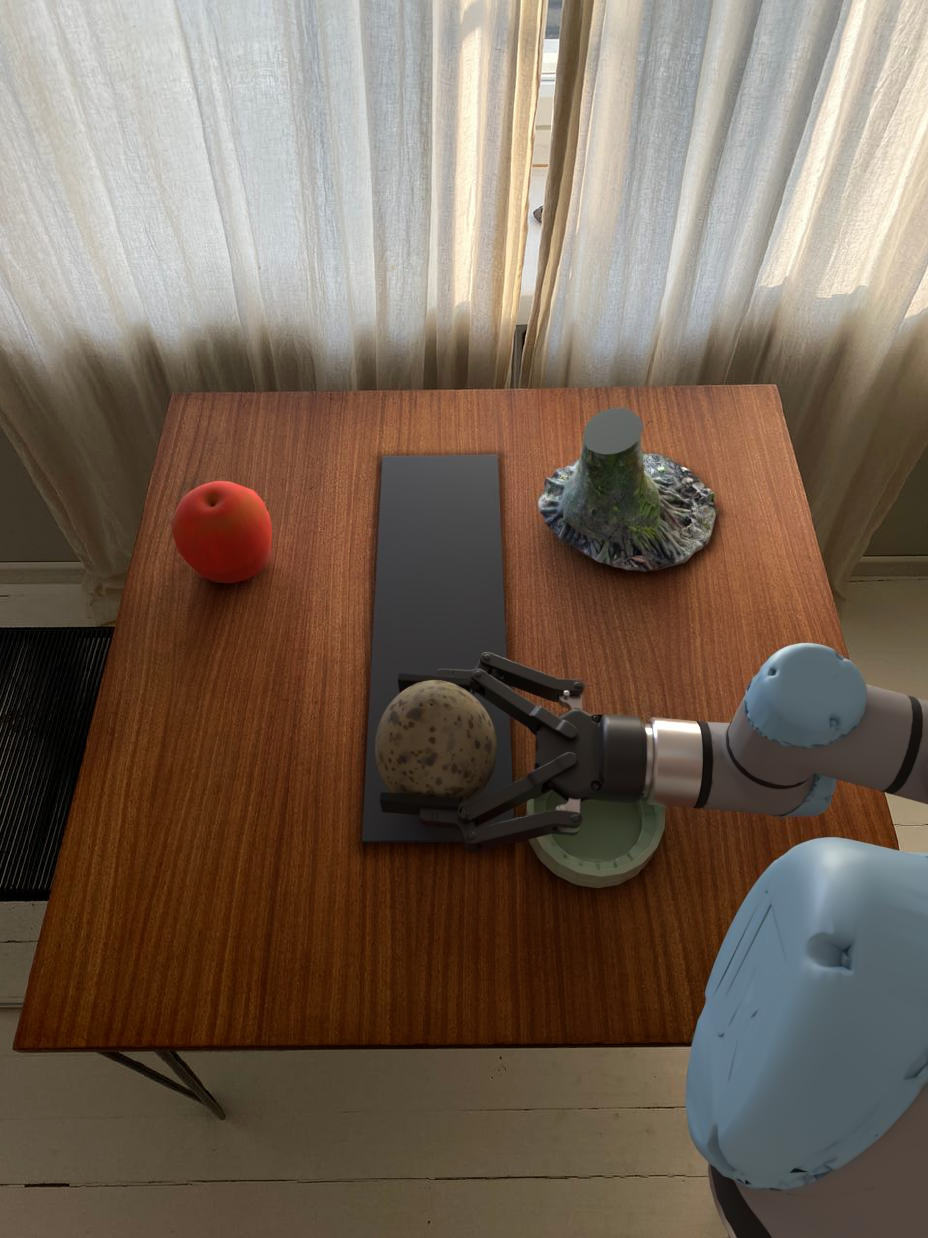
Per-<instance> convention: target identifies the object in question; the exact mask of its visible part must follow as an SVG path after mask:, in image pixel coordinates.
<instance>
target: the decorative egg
mask: <svg viewBox="0 0 928 1238" xmlns="http://www.w3.org/2000/svg"><path fill="white" fill-rule="evenodd" d="M375 755H376V761H377V766H378V769H379V772H380V775H381V777H382V779H383V781H384V783H385V784H386V786H387V787H388V789H389V790H390V791H391V792H392V793H400V794H413V795H425V796H438V797H450V798H458V799H459V807H460V806H461V805H462V807H464V806H466V805H467V804H469V803H470V802H472V801H473V800H474V799H476V798H477V797H478V796H479V795H480V794H481V793H482V791H483V790H484V789H485V788H486V786H487V784H488V783H489V781H490V779H491V777H492V774H493V772H494V769H495V765H496V760H497V739H496V734H495V730H494V726H493V724H492V721H491V719H490V717H489V715H488V713H487V712H486V710H485V708H484V707H483V706H482V704H481V703H480V702H479V701H478V700H477V699H476V698H475V697H474V696H473V695H472V694H470V693H469V692H468V691H466V690H465V689H463V688H461V687H459V686H457V685H455V684H453V683H450V682H446V681H439V680H430V681H423V682H420V683H417V684H414V685H412V686H410V687H408V688H407V689H405V690H404V691H402V692H401V693H400V694H399V695H397V696H396V697H395V698H394V699H393V701H392V702H391V703H390V704H389V706H388V707H387V709H386V710H385V712H384V714H383V716H382V718H381V721H380V723H379V726H378V730H377V734H376V740H375Z"/></svg>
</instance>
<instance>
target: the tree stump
mask: <svg viewBox="0 0 928 1238" xmlns="http://www.w3.org/2000/svg"><path fill="white" fill-rule="evenodd" d="M643 430H644V425H643V420H642V419H641V418H640V417H639V415H637V414H636V412H634V411H632V410H630V409H629V408H627V407H619V406H615V407H610V408H605V409H604V410H601V411H599V412H598V413H596V414H594V415H593V416H592V417H591V418H590V419H589V420H588V421H587V423H586V425H585V426H584V430H583V437H582V444H581V448H580V449H581V450H580V457H579V458H578V459H576V460H575V461H573V462H572V463H570V465H565V467H563V468H562V467H558V468H556V469H555V470H554V471H553V475H551V478H550V477H545V478H544V483H543V485H544V489H543V490H542V493H541V495H540V496H539V498H538V501H537V503H538V507H537V508H538V512H539V513H540V514H541V515H542V517H543V520H544V524H546V526H547V527H548V529H550V530H552V531H553V532H554V534H555V535H556V536H557V538H558V539H559V540H561V541H562V542H563V543H566V544H568V545H570V546H571V547H572V548H574V549H575V550H576V551H578V552H581V553H582V554H584V555H585V556H587V557H589V558H591V559H592V560H594V561H596V562H597V563H602V564H604V565H607V566H611V567H613V568H619V569H622V570H626V571H638V572H643V573H646V572H657V571H660V570H663V569H666V568H671V567H675V566H678V565H681V564H682V565H683V564H685V563H686V562H687V561H688V560H689V559H690V558H691V557H692V556H693V555H694V554H696V553H697V552H699V551H701V550H702V549H704V547H705V546H707V545H708V544H709V542H710V539H711V537H712V532H713V528H714V525H715V520H716V516H717V512H718V510H717V508H716V506H715V504H714V501H715V500H716V492H715V491H712V489H711V488H709V487H708V488H707V487H706V484H705V483H704V482H703V481H702V480H701V479H700V478H699V477H697V476H695V475H694V474H693V473H692V470H690V469H688V468H687V467H684V466H682V465H680V464H679V463H677V462H675V461H674V460H672V459H670V458H669V457H667V456H665V455H663V454H658V453H650V452H649V453H648V452H645V451H643V447H642V437H643Z"/></svg>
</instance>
